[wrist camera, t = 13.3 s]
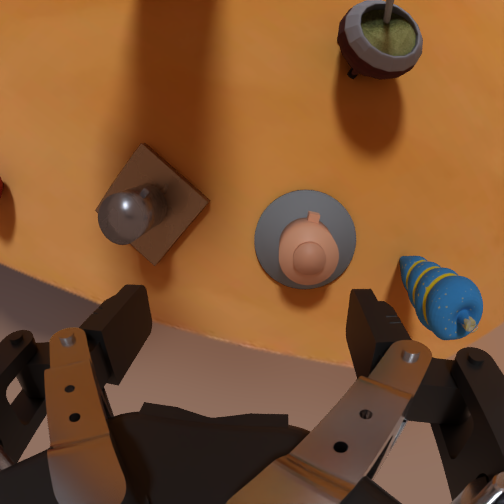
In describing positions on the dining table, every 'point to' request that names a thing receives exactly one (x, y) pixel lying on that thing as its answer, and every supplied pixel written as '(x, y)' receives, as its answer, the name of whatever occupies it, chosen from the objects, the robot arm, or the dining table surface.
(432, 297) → the ornament
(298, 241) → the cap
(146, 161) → the cylinder on square base
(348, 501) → the robot arm
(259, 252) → the coaster
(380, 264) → the dining table surface
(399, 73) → the mate gourd
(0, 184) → the onion
